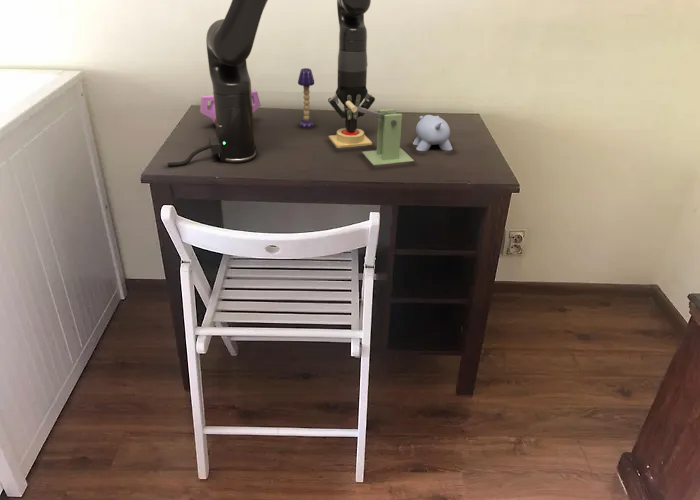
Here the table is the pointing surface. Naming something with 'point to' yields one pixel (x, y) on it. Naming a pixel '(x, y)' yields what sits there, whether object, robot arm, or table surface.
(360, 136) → the button box
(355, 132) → the button
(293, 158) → the table surface
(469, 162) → the table surface
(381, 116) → the lever
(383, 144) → the bracket
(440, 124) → the hippopotamus toy
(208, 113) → the pot
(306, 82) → the toy lamp
